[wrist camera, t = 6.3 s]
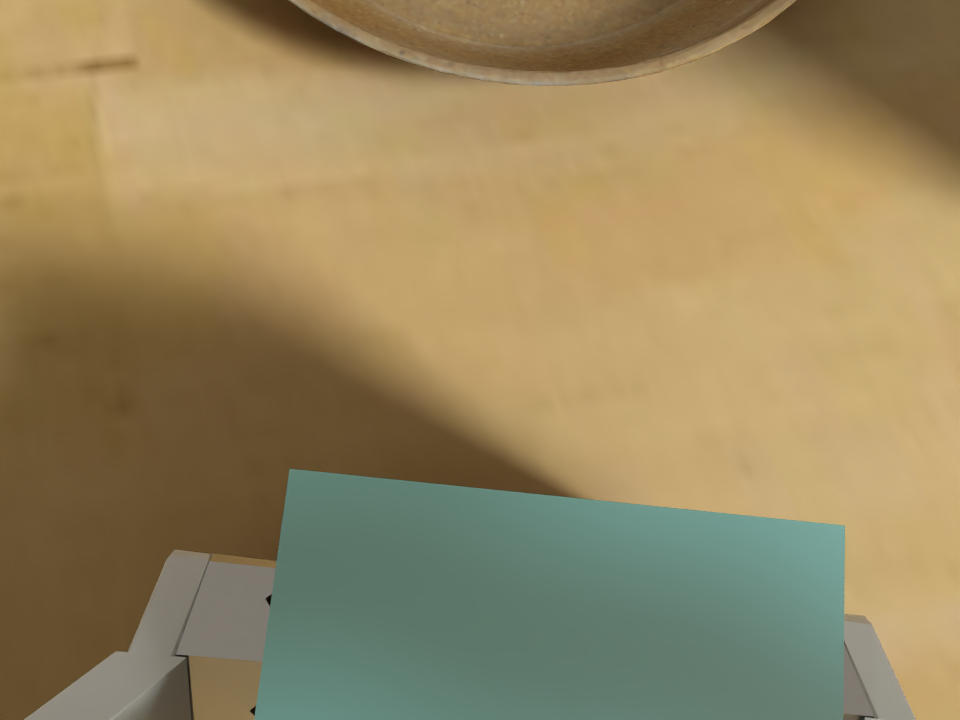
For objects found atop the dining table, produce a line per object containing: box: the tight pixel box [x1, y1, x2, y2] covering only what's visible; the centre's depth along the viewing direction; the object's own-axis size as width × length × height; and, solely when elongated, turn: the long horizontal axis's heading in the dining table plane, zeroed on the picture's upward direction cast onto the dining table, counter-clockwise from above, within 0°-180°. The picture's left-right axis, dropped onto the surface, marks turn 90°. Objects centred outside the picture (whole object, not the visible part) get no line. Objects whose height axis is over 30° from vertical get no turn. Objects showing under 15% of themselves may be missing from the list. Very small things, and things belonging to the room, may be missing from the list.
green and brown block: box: [254, 469, 845, 720], centre depth 12 cm, size 4×6×8 cm
